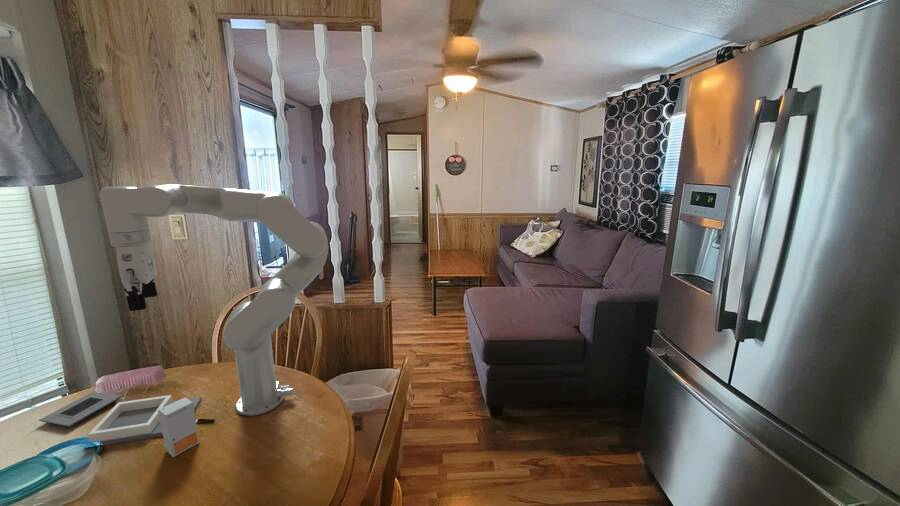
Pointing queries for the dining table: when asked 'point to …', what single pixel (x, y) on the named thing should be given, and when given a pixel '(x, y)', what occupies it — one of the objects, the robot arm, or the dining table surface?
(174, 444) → the skincare box
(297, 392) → the dining table surface
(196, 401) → the holder board
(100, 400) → the grey slotted tray
